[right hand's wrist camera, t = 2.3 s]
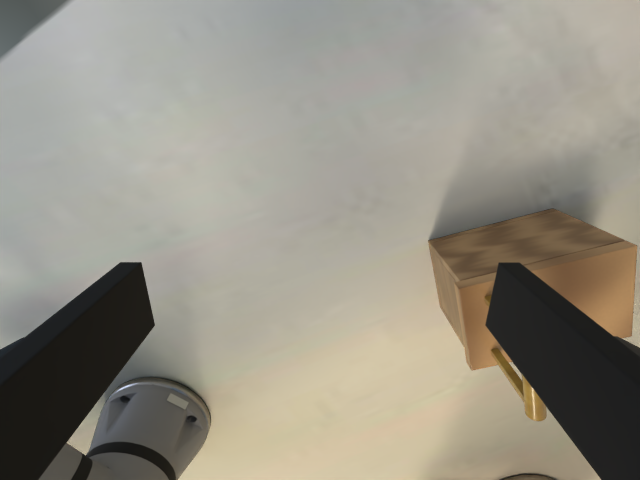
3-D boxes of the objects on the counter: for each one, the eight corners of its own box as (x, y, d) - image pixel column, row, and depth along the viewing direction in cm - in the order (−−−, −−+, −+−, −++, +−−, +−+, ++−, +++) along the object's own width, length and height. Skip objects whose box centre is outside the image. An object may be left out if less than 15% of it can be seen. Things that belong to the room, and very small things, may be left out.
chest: (440, 307, 44) (471, 360, 35) (427, 240, 40) (459, 280, 31) (555, 279, 42) (621, 328, 33) (552, 208, 39) (625, 240, 30)
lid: (466, 362, 35) (510, 439, 27) (453, 282, 31) (499, 342, 23) (621, 328, 33) (717, 399, 25) (625, 240, 30) (738, 289, 22)
